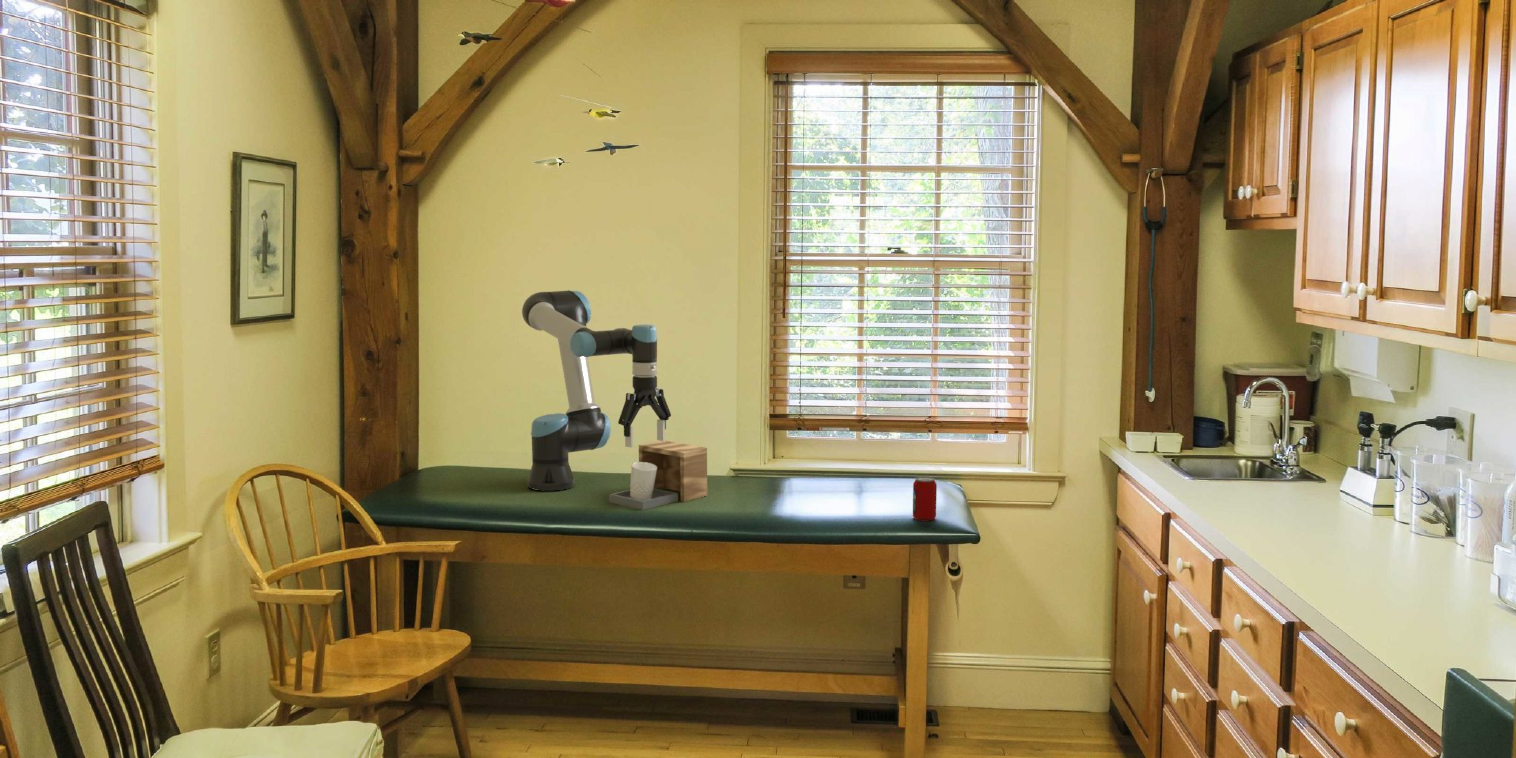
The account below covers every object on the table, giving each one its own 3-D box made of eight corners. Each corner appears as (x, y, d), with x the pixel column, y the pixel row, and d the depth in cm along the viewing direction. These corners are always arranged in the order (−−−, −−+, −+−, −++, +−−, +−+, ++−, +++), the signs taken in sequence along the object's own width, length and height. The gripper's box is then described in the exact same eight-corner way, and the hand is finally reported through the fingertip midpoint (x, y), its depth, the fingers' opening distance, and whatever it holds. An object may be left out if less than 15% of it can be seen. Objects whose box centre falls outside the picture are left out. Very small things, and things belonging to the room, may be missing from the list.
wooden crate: (639, 492, 370) (638, 444, 368) (662, 486, 378) (662, 440, 376) (684, 502, 357) (683, 452, 355) (707, 496, 365) (707, 447, 363)
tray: (609, 502, 357) (609, 494, 357) (644, 493, 368) (644, 486, 368) (643, 509, 347) (642, 501, 347) (677, 500, 359) (677, 493, 358)
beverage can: (919, 514, 342) (919, 475, 340) (939, 518, 338) (940, 477, 336) (908, 519, 336) (909, 479, 335) (929, 523, 332) (930, 482, 331)
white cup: (650, 502, 353) (654, 472, 351) (625, 498, 354) (629, 467, 352) (655, 494, 361) (659, 464, 359) (631, 490, 362) (634, 460, 359)
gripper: (623, 380, 342) (623, 451, 345) (682, 372, 360) (682, 439, 363) (606, 378, 347) (606, 447, 349) (664, 370, 365) (665, 436, 368)
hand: (645, 443), depth 356 cm, fingers open, 13 cm apart
